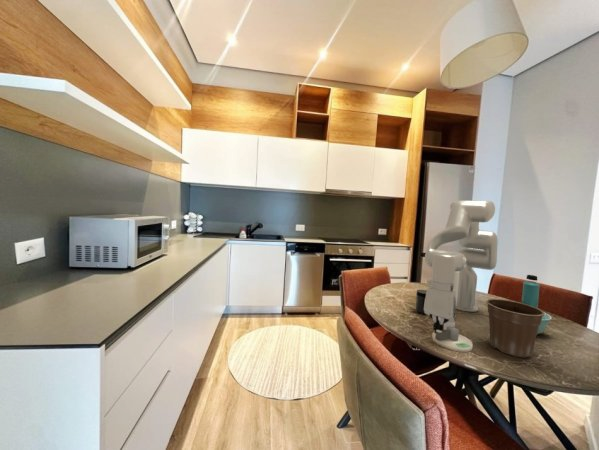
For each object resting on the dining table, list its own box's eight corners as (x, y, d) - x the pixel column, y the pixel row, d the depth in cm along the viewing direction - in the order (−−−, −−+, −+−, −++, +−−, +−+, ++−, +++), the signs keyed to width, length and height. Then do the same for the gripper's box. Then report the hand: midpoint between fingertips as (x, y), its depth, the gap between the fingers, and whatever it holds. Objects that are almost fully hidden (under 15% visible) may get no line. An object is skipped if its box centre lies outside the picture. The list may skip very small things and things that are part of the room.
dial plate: (427, 340, 96) (427, 336, 95) (439, 330, 104) (439, 327, 104) (466, 356, 86) (467, 351, 86) (476, 344, 95) (476, 339, 95)
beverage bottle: (540, 317, 125) (544, 277, 124) (525, 315, 127) (529, 276, 126) (531, 311, 132) (535, 274, 131) (516, 310, 133) (520, 273, 132)
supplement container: (420, 315, 120) (422, 294, 119) (412, 309, 127) (413, 289, 126) (433, 315, 121) (435, 294, 120) (424, 309, 128) (425, 289, 127)
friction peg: (451, 334, 98) (451, 325, 97) (460, 339, 94) (461, 330, 94) (432, 337, 95) (433, 328, 94) (441, 342, 91) (442, 333, 91)
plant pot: (477, 334, 103) (481, 295, 102) (527, 343, 97) (531, 303, 96) (490, 354, 88) (494, 309, 87) (549, 367, 82) (555, 319, 81)
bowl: (539, 342, 99) (542, 321, 99) (494, 325, 113) (495, 307, 112) (556, 334, 106) (558, 316, 106) (511, 319, 120) (513, 302, 120)
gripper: (417, 282, 98) (414, 328, 99) (461, 293, 87) (457, 344, 88) (425, 279, 103) (421, 322, 104) (467, 289, 92) (463, 337, 93)
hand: (438, 332), depth 96 cm, fingers closed
